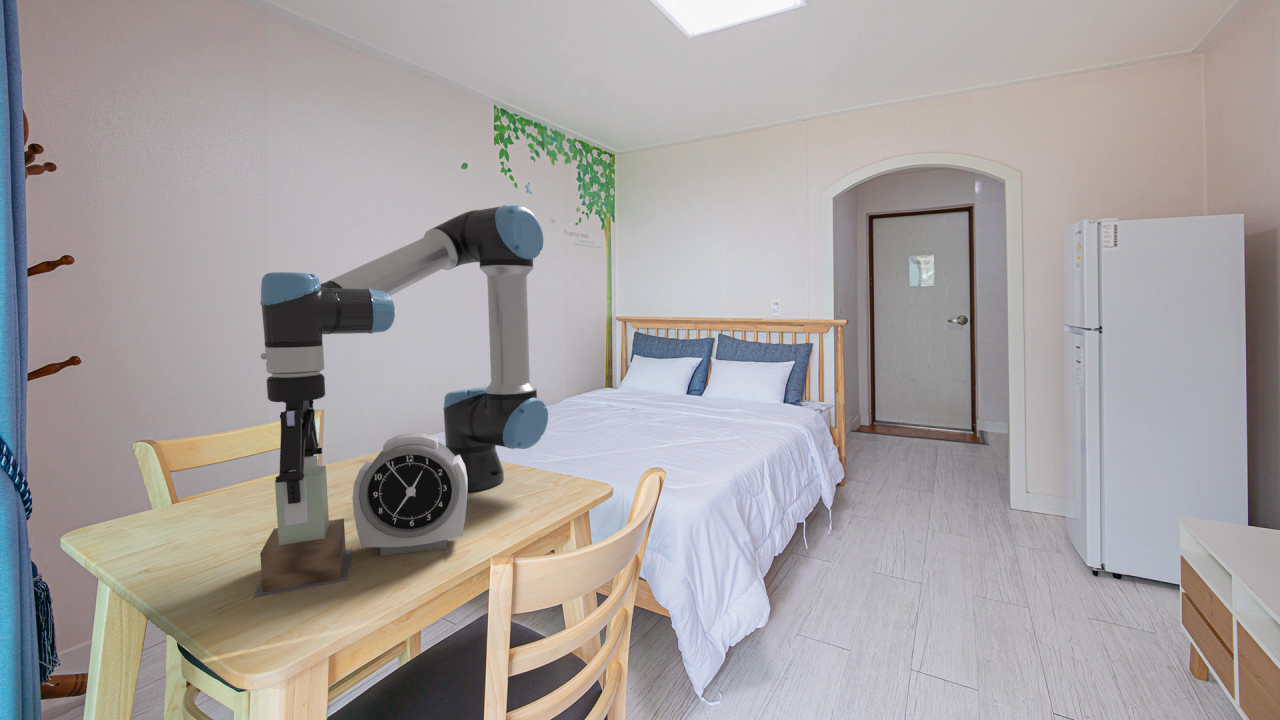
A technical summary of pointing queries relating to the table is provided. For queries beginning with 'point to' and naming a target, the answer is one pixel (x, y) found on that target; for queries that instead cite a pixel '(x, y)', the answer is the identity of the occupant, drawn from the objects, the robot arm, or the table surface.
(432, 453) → the alarm clock
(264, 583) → the walnut block
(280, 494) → the sage block
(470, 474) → the robot arm
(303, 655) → the table surface
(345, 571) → the slate mat
